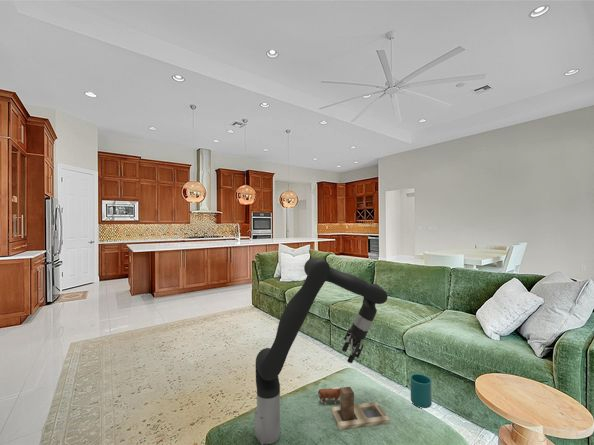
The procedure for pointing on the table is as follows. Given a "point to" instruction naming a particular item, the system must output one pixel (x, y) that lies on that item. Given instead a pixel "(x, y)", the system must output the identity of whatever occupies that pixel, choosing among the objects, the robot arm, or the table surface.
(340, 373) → the table surface
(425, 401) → the cup
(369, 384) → the table surface
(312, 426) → the table surface
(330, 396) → the bull figurine
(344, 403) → the walnut block
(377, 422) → the puzzle board
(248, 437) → the table surface
